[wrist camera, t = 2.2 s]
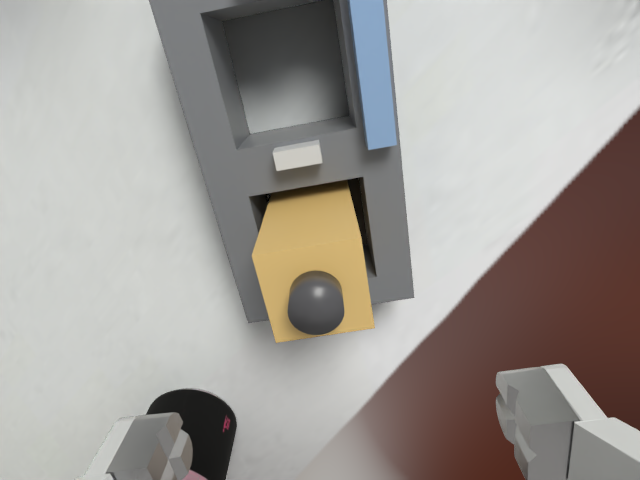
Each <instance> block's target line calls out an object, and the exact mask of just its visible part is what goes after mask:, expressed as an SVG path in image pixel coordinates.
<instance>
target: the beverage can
mask: <svg viewBox="0 0 640 480" xmlns="http://www.w3.org/2000/svg"><path fill="white" fill-rule="evenodd" d="M172 412H175V413H179V415H180V417H181V419H182V421H183V424H182V426H181V430H183V431H184V432H186V433H187V434H189V437H190V439H191V442H192V448H193V454H192V463H191V467H190V470H189V473H188V474H187V475H186V476H185V477H184V479H183V480H225V479H226V475H227V470H228V465H229V461H230V456H231V451H232V446H233V442H234V437H235V432H236V427H237V423H236V418H235V415H234V413H233V411H232V409H231V408H230V407H229V406H228V405H227V404H226V403H225V402H224V401H223V400H222V399H220V398H219V397H218V396H216V395H214V394H212V393H210V392H207V391H204V390H200V389H192V388H187V389H179V390H174V391H170V392H167V393H165V394H163V395H161V396H159V397H158V398H157V399H156V400H155V401H154V402H153V403H152V404H151V406H150V408H149V410H148V412H147V414H146V415H151V414H162V413H172Z"/></svg>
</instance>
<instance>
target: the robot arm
mask: <svg viewBox="0 0 640 480" xmlns="http://www.w3.org/2000/svg"><path fill="white" fill-rule="evenodd" d="M496 385H497V387H498V389H499V391H500V394H499V395H498V396H497V398H496V409H497V414H498V419H499V422H500V425H501V428H502V430H503V432H504V435H505V437H506V439H507V440H509V441H510V442H512V443H513V444H514V445H515V454H514V455H515V458H516V460H517V462H518V464H519V467H520V469H521V471H522V473H523V475H524V477H525V479H526V480H640V431H638V430H637V429H635V428H633V427H631V426H629V425H627V424H625V423H624V422H622V421H620V420H618V419H616V418H607V417H606V416H605V414H604V413H603V412H602V410H601V409H600V408H599V407H598V405H597V404H596V403H595V402H594V400H593V399H592V398H591V397H590V395H589V394H588V393H587V391H586V390H585V389H584V388H583V386H582V385H581V384H580V383H579V381H578V380H577V379H576V378H575V376H574V375H573V374H572V373H571V371H570V370H569V369H568V368H567V366H565V365H563V364H556V365H548V366H541V367H534V368H526V369H519V370H511V371H503V372H498V373H497V376H496ZM182 424H183V421H182V419H181V417H180V415H179V413H175V412H172V413H162V414H151V415H141V416H135V417H124V418H120V419H119V420H118V421H116V422H115V423H114V425H113V427H112V429H111V430H110V432H109V434H108V435H107V437H106V439H105V441H104V442H103V444H102V446H101V447H100V449H99V451H98V452H97V454H96V456H95V458H94V459H93V461H92V463H91V464H90V466H89V468H88V470H87V471H86V473H85V475H84V476H81V477H77V478H76V479H75V480H183V479H184V477H185V476H186V475H187V474H188V473H189V470H190V467H191V463H192V454H193V448H192V442H191V439H190V437H189V434H187V433H186V432H184V431H183V430H181V426H182Z"/></svg>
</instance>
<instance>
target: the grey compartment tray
mask: <svg viewBox="0 0 640 480" xmlns="http://www.w3.org/2000/svg"><path fill="white" fill-rule="evenodd" d="M318 1H323V0H149V2H150V5H151V9H152V12H153V15H154V18H155V22H156V25H157V28H158V31H159V35H160V38H161V41H162V44H163V48H164V51H165V54H166V57H167V61H168V64H169V67H170V70H171V74H172V77H173V80H174V83H175V87H176V90H177V93H178V96H179V99H180V103H181V106H182V109H183V112H184V116H185V119H186V122H187V125H188V129H189V132H190V135H191V138H192V142H193V145H194V148H195V151H196V155H197V158H198V161H199V164H200V168H201V171H202V174H203V177H204V181H205V184H206V187H207V190H208V193H209V197H210V200H211V203H212V206H213V210H214V213H215V216H216V219H217V223H218V226H219V229H220V232H221V236H222V239H223V242H224V245H225V249H226V252H227V255H228V258H229V262H230V265H231V268H232V271H233V275H234V278H235V281H236V284H237V287H238V291H239V294H240V297H241V300H242V304H243V307H244V310H245V313H246V317H247V320H248V323H252V322H259V321H266V320H269V316H268V312H267V309H266V305H265V302H264V298H263V295H262V291H261V287H260V284H259V280H258V277H257V273H256V270H255V266H254V262H253V259H252V253H253V250H254V247H255V244H256V240H257V237H258V234H259V231H260V228H261V225H262V222H263V218H264V215H265V212H266V209H267V202H266V198H265V194H266V193H272V192H278V191H284V190H289V189H295V188H301V187H307V186H312V185H318V184H324V183H330V182H335V181H341V180H347V179H353V178H358V179H359V186H360V193H361V200H362V207H363V214H364V221H365V228H366V235H367V242H368V244H364V245H363V252H364V259H365V265H366V272H367V279H368V286H369V293H370V299H371V304H376V303H383V302H389V301H396V300H403V299H409V298H414V290H413V279H412V269H411V258H410V247H409V236H408V225H407V214H406V204H405V193H404V182H403V171H402V160H401V149H400V139H399V128H398V117H397V106H396V95H395V85H394V74H393V63H392V52H391V41H390V30H389V20H388V9H387V0H333V1H334V8H335V15H336V22H337V30H338V37H339V44H340V51H341V58H342V65H343V72H344V79H345V86H346V93H347V101H348V108H349V115H350V116H345V117H339V118H334V119H329V120H323V121H318V122H312V123H307V124H301V125H296V126H291V127H285V128H280V129H274V130H269V131H264V132H258V133H253V134H250V133H249V129H248V125H247V121H246V116H245V112H244V108H243V104H242V100H241V96H240V92H239V88H238V84H237V80H236V76H235V72H234V68H233V64H232V60H231V56H230V52H229V48H228V44H227V39H226V35H225V31H224V27H223V23H222V21H225V20H230V19H235V18H239V17H244V16H249V15H254V14H259V13H264V12H269V11H274V10H279V9H283V8H288V7H293V6H298V5H303V4H308V3H313V2H318Z"/></svg>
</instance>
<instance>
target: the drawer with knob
mask: <svg viewBox="0 0 640 480" xmlns="http://www.w3.org/2000/svg"><path fill="white" fill-rule="evenodd" d="M252 259H253V262H254V266H255V270H256V273H257V277H258V280H259V284H260V287H261V291H262V295H263V298H264V302H265V305H266V309H267V312H268V316H269V320H270V323H271V327H272V330H273V334H274V337H275V341H276V343H278V342H285V341H292V340H298V339H305V338H312V337H318V336H325V335H332V334H338V333H345V332H352V331H358V330H365V329H372V328H375V327H374V320H373V313H372V306H371V299H370V293H369V286H368V279H367V272H366V265H365V259H364V252H363V245H362V238H361V234H360V230H359V226H358V222H357V218H356V214H355V210H354V206H353V202H352V198H351V194H350V190H349V186H348V182H347V180H341V181H335V182H330V183H324V184H318V185H312V186H307V187H301V188H295V189H289V190H284V191H278V192H272V193H271V196H270V199H269V203H268V206H267V209H266V212H265V215H264V218H263V222H262V225H261V228H260V231H259V234H258V237H257V240H256V244H255V247H254V250H253V253H252Z"/></svg>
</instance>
